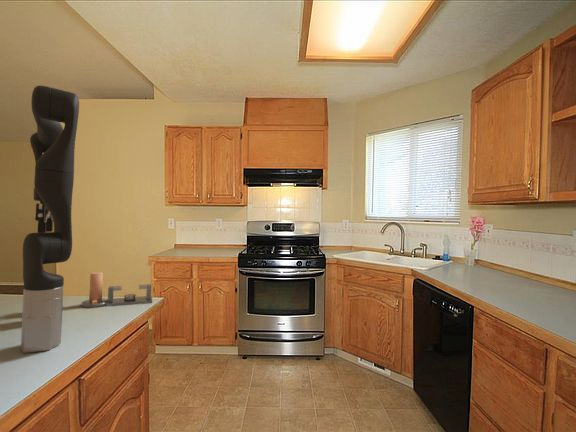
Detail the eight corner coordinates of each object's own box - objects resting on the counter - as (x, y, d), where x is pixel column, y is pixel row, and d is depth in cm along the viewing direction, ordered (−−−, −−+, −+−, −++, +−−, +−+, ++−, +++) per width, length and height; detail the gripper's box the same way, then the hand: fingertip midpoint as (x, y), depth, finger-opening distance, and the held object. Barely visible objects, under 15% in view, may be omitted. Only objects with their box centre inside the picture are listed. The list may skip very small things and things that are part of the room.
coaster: (108, 306, 129) (108, 303, 129) (79, 308, 125) (79, 305, 125) (110, 300, 138) (110, 297, 138) (83, 302, 134) (83, 299, 134)
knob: (87, 305, 126) (88, 275, 126) (90, 299, 135) (92, 271, 135) (100, 304, 128) (101, 274, 128) (102, 298, 137) (104, 270, 137)
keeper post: (152, 302, 137) (152, 287, 137) (105, 306, 130) (106, 289, 130) (151, 298, 145) (152, 283, 145) (107, 301, 137) (108, 285, 137)
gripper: (40, 189, 119) (38, 231, 119) (27, 186, 106) (25, 233, 106) (64, 190, 122) (62, 231, 122) (54, 187, 109) (52, 233, 109)
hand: (45, 232), depth 114 cm, fingers open, 8 cm apart
